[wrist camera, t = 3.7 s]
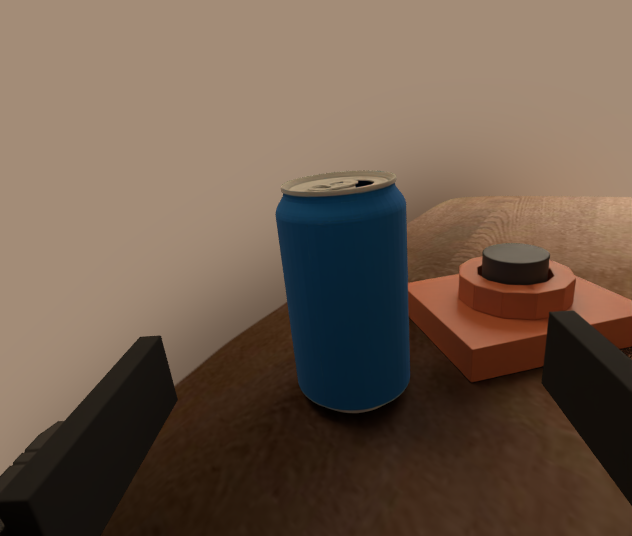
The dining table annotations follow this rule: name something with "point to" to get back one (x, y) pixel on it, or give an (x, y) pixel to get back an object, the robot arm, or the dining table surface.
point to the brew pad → (509, 317)
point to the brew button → (515, 264)
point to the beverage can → (347, 287)
